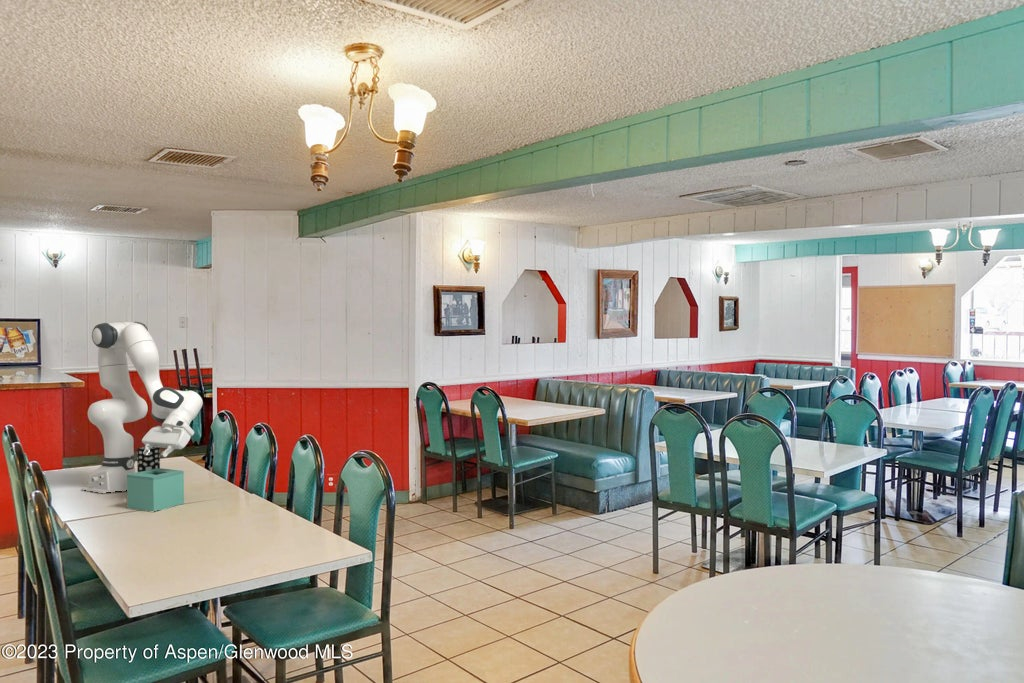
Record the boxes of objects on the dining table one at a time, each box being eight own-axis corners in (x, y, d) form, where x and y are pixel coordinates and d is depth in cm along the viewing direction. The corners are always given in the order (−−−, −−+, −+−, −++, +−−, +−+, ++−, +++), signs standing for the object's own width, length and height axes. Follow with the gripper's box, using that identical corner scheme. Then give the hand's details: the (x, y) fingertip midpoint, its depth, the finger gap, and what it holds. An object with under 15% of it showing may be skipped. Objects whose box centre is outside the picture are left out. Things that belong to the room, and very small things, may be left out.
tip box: (127, 508, 280) (126, 474, 280) (158, 500, 293) (157, 468, 292) (153, 512, 274) (153, 477, 274) (184, 503, 287) (183, 470, 287)
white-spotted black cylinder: (165, 494, 302) (164, 446, 302) (149, 499, 295) (148, 449, 294) (149, 493, 305) (148, 445, 305) (133, 497, 297) (132, 448, 297)
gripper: (150, 420, 293) (129, 448, 285) (188, 423, 285) (167, 452, 276) (160, 430, 298) (139, 458, 289) (197, 433, 289) (177, 462, 281)
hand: (153, 455), depth 283 cm, fingers open, 8 cm apart
